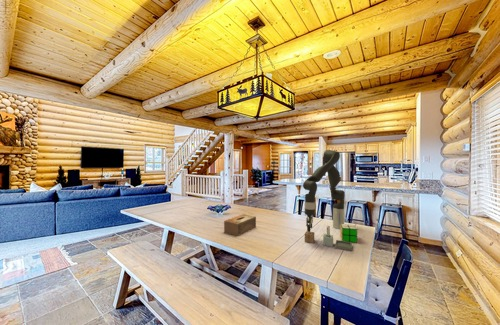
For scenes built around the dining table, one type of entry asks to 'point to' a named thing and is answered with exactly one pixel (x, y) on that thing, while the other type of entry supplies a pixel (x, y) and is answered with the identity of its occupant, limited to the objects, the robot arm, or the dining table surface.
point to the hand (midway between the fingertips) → (309, 229)
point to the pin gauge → (328, 231)
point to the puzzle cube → (348, 233)
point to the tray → (343, 245)
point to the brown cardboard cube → (309, 237)
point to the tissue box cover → (239, 224)
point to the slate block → (328, 240)
